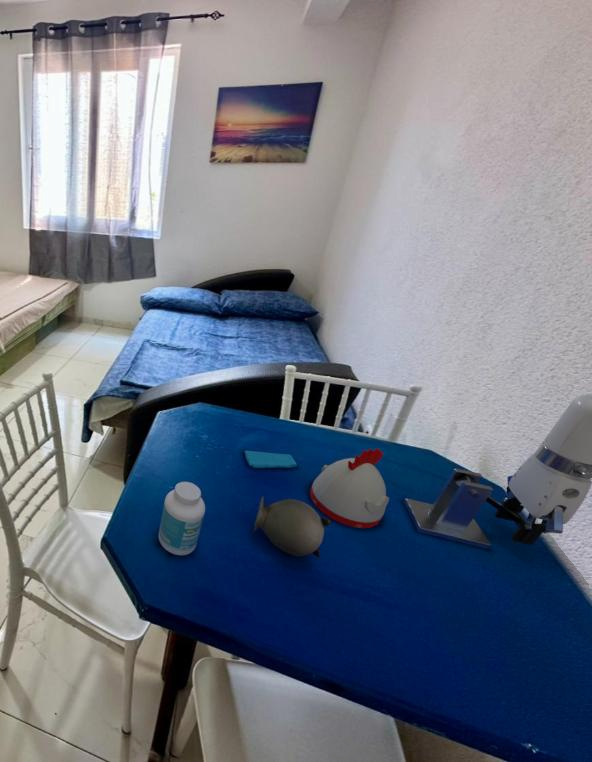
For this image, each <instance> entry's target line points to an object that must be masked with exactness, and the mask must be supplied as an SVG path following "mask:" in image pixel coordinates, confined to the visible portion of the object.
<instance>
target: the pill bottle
mask: <svg viewBox="0 0 592 762" xmlns="http://www.w3.org/2000/svg"><path fill="white" fill-rule="evenodd" d="M201 496H202V492H201V489H200V487H198V485H196V484H195V483H193V482H189V481H180V482H178V483H177V484H176V485H175V487H174V489H173V490H171V491H169V492H168V493H167V495H166V496H165V499H164V503H163V509H162V514H161V519H160V524H159V529H158V530H159V531H158V540H159V541H158V542H159V543H160V545H161V546H162V547H163V548H164V550H166V551H167V552H169V553H171V554H173V555H176V556H187V555H189V554H191V553H193V552H194V550H195V549H196V547H197V544H198V540H199V536H200V533H201V528H202V525H203V521H204V517H205V513H206V504H205V501H204V500H203V498H202V497H201Z"/></svg>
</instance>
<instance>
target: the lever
mask: <svg viewBox="0 0 592 762" xmlns="http://www.w3.org/2000/svg"><path fill="white" fill-rule="evenodd" d="M463 481H466V482H471V483H476V484H479V483H478V482H476V481H475V480H473V479H472V478H470V477H469V476H467V475H465V476H463V477H462V478H460V479H458V480H456V481H455V482H456V484H457V485H458V487H460V485H461V484H462V482H463ZM485 502H486V503H488V504H489V505H490V506H492V507H494V508H495V509H496V510H499V511H501V512H502V513H503V514H505V515H506V516H508V517H509V518H511V519H512V520H513V521H512V522H514V524H515V525H516V526H517V528H518V527H519V526H520V525H521V524H523V525H525V523H526V520H525V519H524V517H523V516H522V515H521V513H519V512H518V511H517V510H516V509H515V508H509V509H508V508H506V507H505V506H503V505H502V503H500V502H499V501H498V500H496V499H495V498H494V497H492V496H490V495H489V497H488V498H487V499H486V501H485Z"/></svg>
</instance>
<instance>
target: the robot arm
mask: <svg viewBox="0 0 592 762" xmlns="http://www.w3.org/2000/svg"><path fill="white" fill-rule="evenodd" d="M591 479H592V393H591V394H590V393H589V394H587V393H586V394H581V395H578V396H575V398H574V399H573V400H572V401H571V402H570V403H569V404H568V406H567V408H566V409H565V410H564V412H563V413H562V414H561V415H560V417H559V418H558V420H557V421H556V423H555V424H554V425H553V427H551V430H550V431H549V432H548V434H547V435H546V436H545V438H544V439H543V441H542V442H541V443H540V445H539V446H538V448H537V449H536V450H535V451H534V452H533V453H532V454H531V455H529V457H528V458H527V459H526V460H524V462H523V463H522V464H521V465H520V466H519V467H518V469H517V470H516V471H515V472H514V474H513V475H508V476H507V480H506V481H507V486H506V494H505V495H503V501H502V503H501V504H502V505H503V506H505V507H506V508H508V509H509V508H515V509H516V510H517V511H518V512H519V513H520V514H521V513H522V512H523V510H524V509H525V510H526V511H527V513H528V515H527V518H526V520H525V521H526V523H525V525H523V524H521V525H520V526H519V527H518V526H517V529H516V530H515V531H514V533H513V534H512V535H511V537H510V539H511V540H512V541H513V542H517V543H521V544H525V545H528V546H532V545H534V543H536V541H537V540H538V539H539V537H541V535H542V534H548V533H549V534H559V535H560V534H563V532H564V525H566V524H567V523H568V522H569V521H571V520H572V518H573V517H574V515H575V514H576V513H577V512H578V510H579V509H580V507H581V506H582V505H583V502H584V501H585V499H586V497H587V495H588V493H589V492H590V489H591V487H592V480H591ZM493 515H494V516H495V518H496V519H501V520H506V521H511V522H514V521H513V520H512V519H511V518H509V517H508V516H506V515H505V514H503V513H502V512H501V511H499V510H498V509H496V510H495V512H494V514H493ZM537 520H541V523H536V521H537Z"/></svg>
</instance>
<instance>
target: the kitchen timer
mask: <svg viewBox="0 0 592 762" xmlns="http://www.w3.org/2000/svg"><path fill="white" fill-rule="evenodd" d="M384 455H385V453H383V452H382V451H381V449H379V447H376V448H375V449H374V450H373V449H371V448H369V449H368V450H366V449H363V451H362V452H361V454H360V456H359V455H358V454H356V455H355V457H349V458H344V459H339V460H336V461H335V462H333V463H331V464H329V465H327V464H324V466H323V467H322V468H321V472H320V473H319V474H318V476H317V477H315V479H314V481H313V482H312V484H311V487H310V489H309V490H310V491H309V496H310V498H311V499H310V500H311V501H312V503H313V504H314V506H315V507H317V509H318V510H320V511H321V512H322V513H323V514H324V515H326V516H327V517H329V519H332V520H334V521H336V522H338V523H340V524H342V525H346V526H349V527H351V528H359V529H368V528H373V527H376V526H377V525H379V524H380V522H381V520H382V518H383V517H384V514H385V512H386V508H387V506H388V504H389V501H390V497H389V496H387V488H386V484H385V481H384V479H383V476H382V475H381V473H380V471H379V470H378V468H377V467H376V466H375V465H376V464H377V463H378V462H379V461H380V460H382V458H383V456H384Z"/></svg>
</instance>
